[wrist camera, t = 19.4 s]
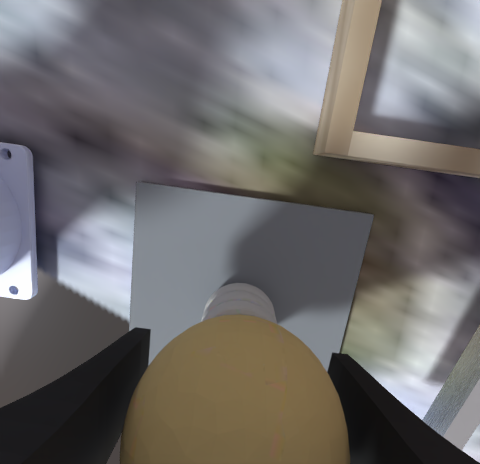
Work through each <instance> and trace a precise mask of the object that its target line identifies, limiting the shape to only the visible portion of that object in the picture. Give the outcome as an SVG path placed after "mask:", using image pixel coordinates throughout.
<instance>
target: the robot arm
mask: <svg viewBox="0 0 480 464" xmlns="http://www.w3.org/2000/svg"><path fill="white" fill-rule="evenodd" d="M8 150H10V152H11V154H12V156H11V158H9V157H8V154H7V153H8ZM15 286H16V287H17V288H18V289H19V291H18V290H17V289H16V288H15ZM37 292H38V281H37V254H36V228H35V201H34V174H33V156H32V153H31V151H30V149H28V148H27V147H26V146H23V145H17V144H10V143H3V142H0V297H8V298H16V299H24V300H27V299H30V298H32V297H34V296H35V295H36V294H37ZM150 334H151V329H146V328H138V327H135V328H133V329H132V330H131V331H129V332H128V333H126V334H125V335H124V336H122V337H121V338H119V339H118V340H117V341H115V342H114V343H112V344H111V345H110V346H108V347H107V348H105V349H104V350H102V351H101V352H100V353H98V354H97V355H95V356H94V357H92V358H91V359H89V360H88V361H86V362H85V363H83V364H81V365H80V366H78V367H77V368H75V369H73V370H72V371H70V372H69V373H67V374H66V375H64V376H62V377H60V378H59V379H57V380H55V381H54V382H52V383H50V384H48V385H46V386H44V387H42V388H40V389H39V390H37V391H35V392H33V393H31V394H29V395H27V396H25V397H23V398H21V399H19V400H17V401H15V402H12V403H10V404H8V405H6V406H4V407H2V408H0V464H106V463H107V461H108V459H109V457H110V455H111V453H112V451H113V449H114V447H115V444H116V443H117V441H118V439H119V437H120V435H121V433H122V431H123V426H124V422H125V418H126V414H127V411H128V407H129V404H130V401H131V398H132V395H133V393H134V391H135V388H136V387H137V385H138V383H139V381H140V379H141V378H142V376H143V374H144V373H145V371H146V369H147V368H148V363H149V349H150ZM327 373H328V375H329V376H330V378H331V381H332V383H333V385H334V387H335V389H336V391H337V393H338V395H339V398H340V402H341V405H342V409H343V412H344V416H345V421H346V425H347V430H348V440H349V450H350V464H480V463H479V462H477V461H476V460H474V459H473V458H471V457H470V456H469V455H467V454H466V453H464V452H463V451H461V450H460V449H459V448H457V447H456V446H455V445H453V444H452V443H451V442H449V441H448V440H447V439H445V438H444V437H443V436H441V435H440V434H439V433H437V432H436V431H435V430H433V429H432V428H431V427H430V426H428V425H427V424H426V423H425V422H423V421H422V420H421V419H420V418H419V417H417V416H416V415H415V414H414V413H413V412H411V411H410V410H409V409H408V408H407V407H405V406H404V405H403V404H402V403H401V402H400V401H399V400H397V399H396V398H395V397H394V396H393V395H392V394H391V393H390V392H388V391H387V390H386V389H385V388H384V387H383V386H382V385H381V384H380V383H379V382H377V381H376V380H375V379H374V378H373V377H372V376H371V375H370V374H369V373H368V372H367V371H366V370H365V369H363V368H362V367H361V366H360V365H359V364H358V363H357V362H356V361H355V360H354V359H352V358H351V357H350V356H349V355H348V354H341V353H333V352H332V355H331V359H330V363H329V367H328V371H327Z"/></svg>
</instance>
